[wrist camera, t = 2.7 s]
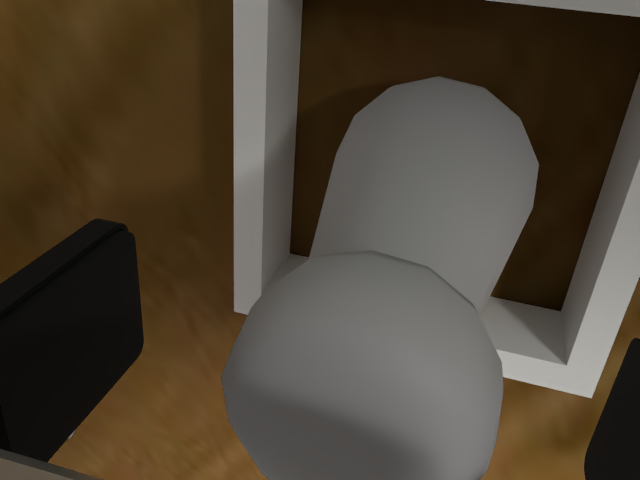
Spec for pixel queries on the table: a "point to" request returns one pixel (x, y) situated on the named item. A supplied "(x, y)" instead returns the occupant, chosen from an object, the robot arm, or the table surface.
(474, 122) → the salt shaker
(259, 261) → the grey square frame
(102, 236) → the robot arm
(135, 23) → the table surface
